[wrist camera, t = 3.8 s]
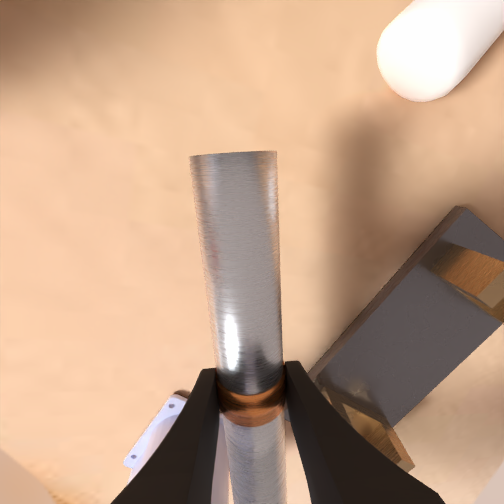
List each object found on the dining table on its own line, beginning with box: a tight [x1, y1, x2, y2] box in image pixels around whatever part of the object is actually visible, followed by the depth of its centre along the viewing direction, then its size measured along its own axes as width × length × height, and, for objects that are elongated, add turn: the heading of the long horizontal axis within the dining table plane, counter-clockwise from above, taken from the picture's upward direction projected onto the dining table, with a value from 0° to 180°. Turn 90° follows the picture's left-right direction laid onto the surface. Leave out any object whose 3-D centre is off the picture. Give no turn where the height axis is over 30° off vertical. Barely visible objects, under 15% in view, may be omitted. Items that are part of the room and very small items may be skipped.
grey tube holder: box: [284, 206, 504, 473], centre depth 20 cm, size 22×10×5 cm, turn 146°
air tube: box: [189, 151, 287, 504], centre depth 12 cm, size 20×3×3 cm, turn 4°
